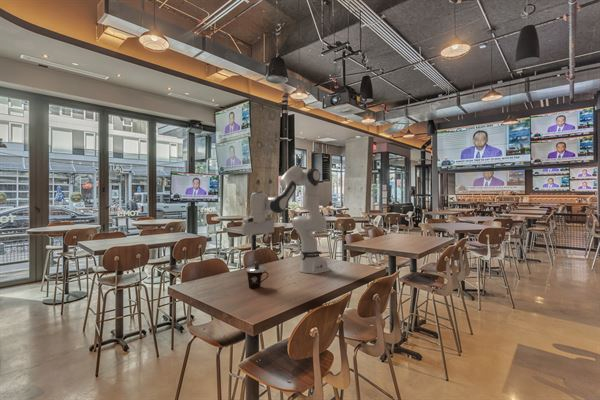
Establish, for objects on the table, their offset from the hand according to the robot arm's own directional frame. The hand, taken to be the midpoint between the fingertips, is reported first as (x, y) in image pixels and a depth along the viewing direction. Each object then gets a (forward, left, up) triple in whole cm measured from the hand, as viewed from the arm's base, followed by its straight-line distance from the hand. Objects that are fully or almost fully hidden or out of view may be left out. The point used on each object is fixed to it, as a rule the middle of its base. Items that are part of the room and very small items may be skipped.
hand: (258, 241), depth 180 cm
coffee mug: (+3, +6, -26) cm, 27 cm away
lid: (+3, +6, -16) cm, 17 cm away
